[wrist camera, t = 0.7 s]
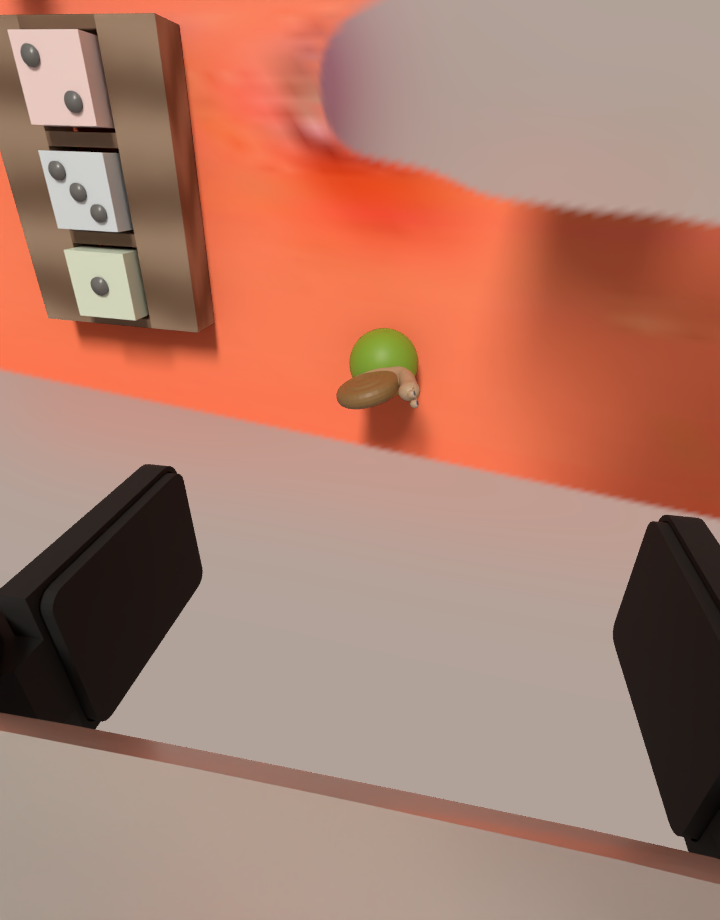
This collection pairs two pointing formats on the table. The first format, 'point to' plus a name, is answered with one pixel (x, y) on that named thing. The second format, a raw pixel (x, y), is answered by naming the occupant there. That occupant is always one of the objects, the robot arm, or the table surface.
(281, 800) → the robot arm
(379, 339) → the snail figurine
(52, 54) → the two dot tile
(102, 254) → the cream knobbed tile
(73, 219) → the three dot tile
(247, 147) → the table surface
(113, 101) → the counting board
